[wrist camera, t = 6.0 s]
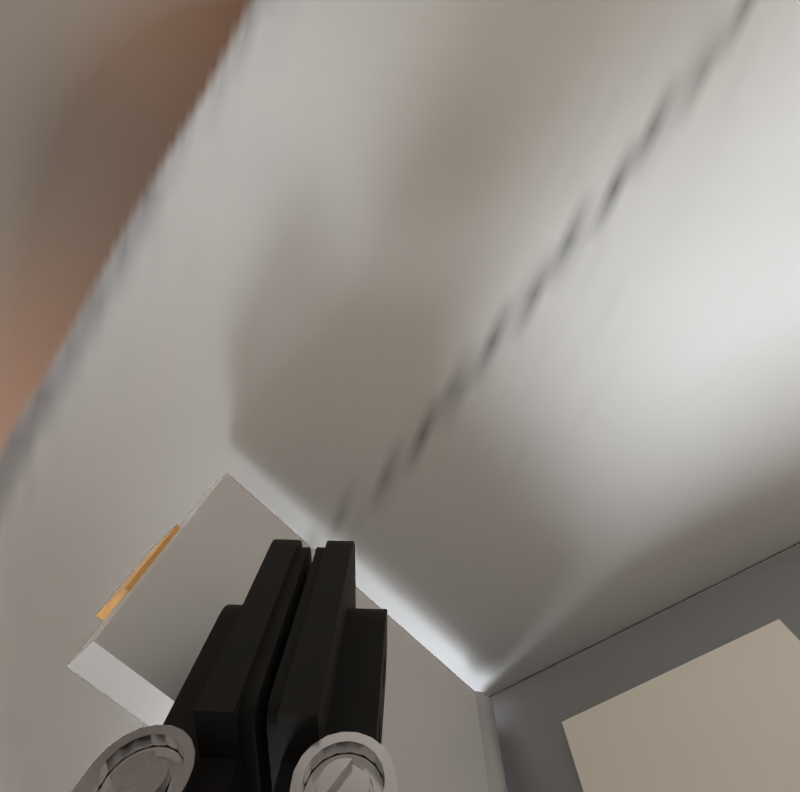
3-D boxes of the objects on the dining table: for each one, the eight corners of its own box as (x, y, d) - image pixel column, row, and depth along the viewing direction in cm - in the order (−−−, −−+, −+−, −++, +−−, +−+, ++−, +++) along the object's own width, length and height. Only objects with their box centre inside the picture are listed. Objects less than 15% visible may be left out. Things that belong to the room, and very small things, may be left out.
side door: (499, 706, 17) (550, 971, 11) (459, 733, 18) (486, 1004, 11) (228, 466, 15) (96, 631, 9) (189, 503, 15) (34, 688, 9)
